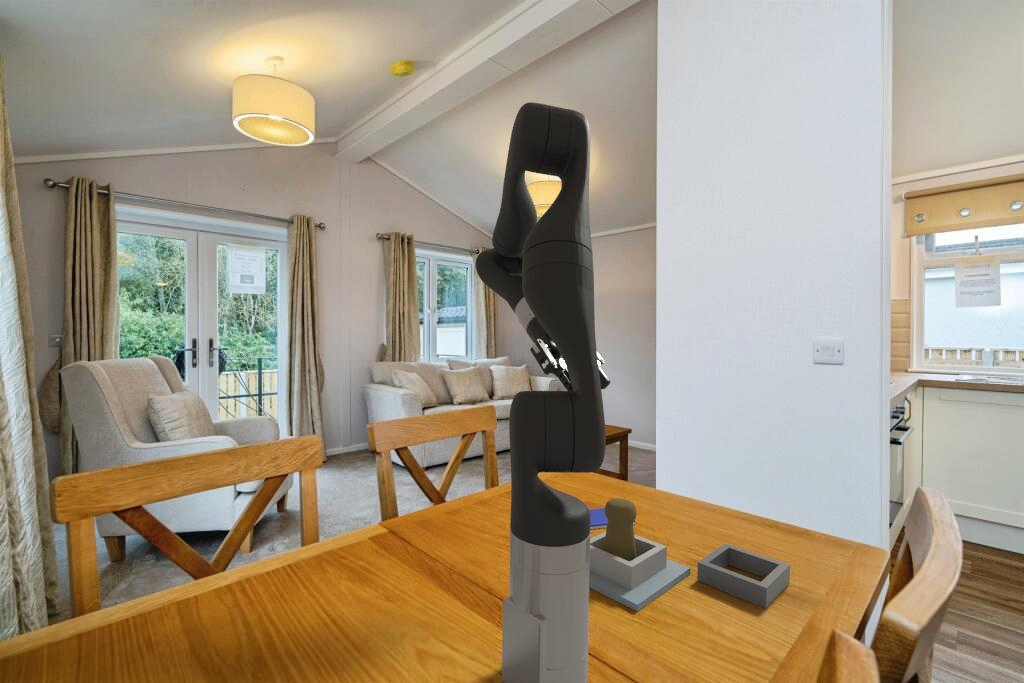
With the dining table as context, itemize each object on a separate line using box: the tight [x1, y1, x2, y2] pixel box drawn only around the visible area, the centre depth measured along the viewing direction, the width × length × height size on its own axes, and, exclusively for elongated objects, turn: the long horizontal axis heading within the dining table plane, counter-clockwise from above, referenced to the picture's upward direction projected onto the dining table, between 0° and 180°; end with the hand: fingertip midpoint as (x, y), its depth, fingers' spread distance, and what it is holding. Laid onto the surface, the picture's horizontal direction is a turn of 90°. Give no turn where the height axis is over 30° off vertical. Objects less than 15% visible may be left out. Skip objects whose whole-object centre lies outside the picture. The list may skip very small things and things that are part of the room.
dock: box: [589, 530, 691, 612], centre depth 80 cm, size 16×16×4 cm
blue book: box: [588, 507, 636, 530], centre depth 102 cm, size 2×8×12 cm
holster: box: [696, 543, 791, 609], centre depth 77 cm, size 10×10×3 cm
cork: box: [603, 497, 637, 562], centre depth 80 cm, size 6×6×11 cm
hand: (591, 388), depth 80 cm, fingers open, 8 cm apart
